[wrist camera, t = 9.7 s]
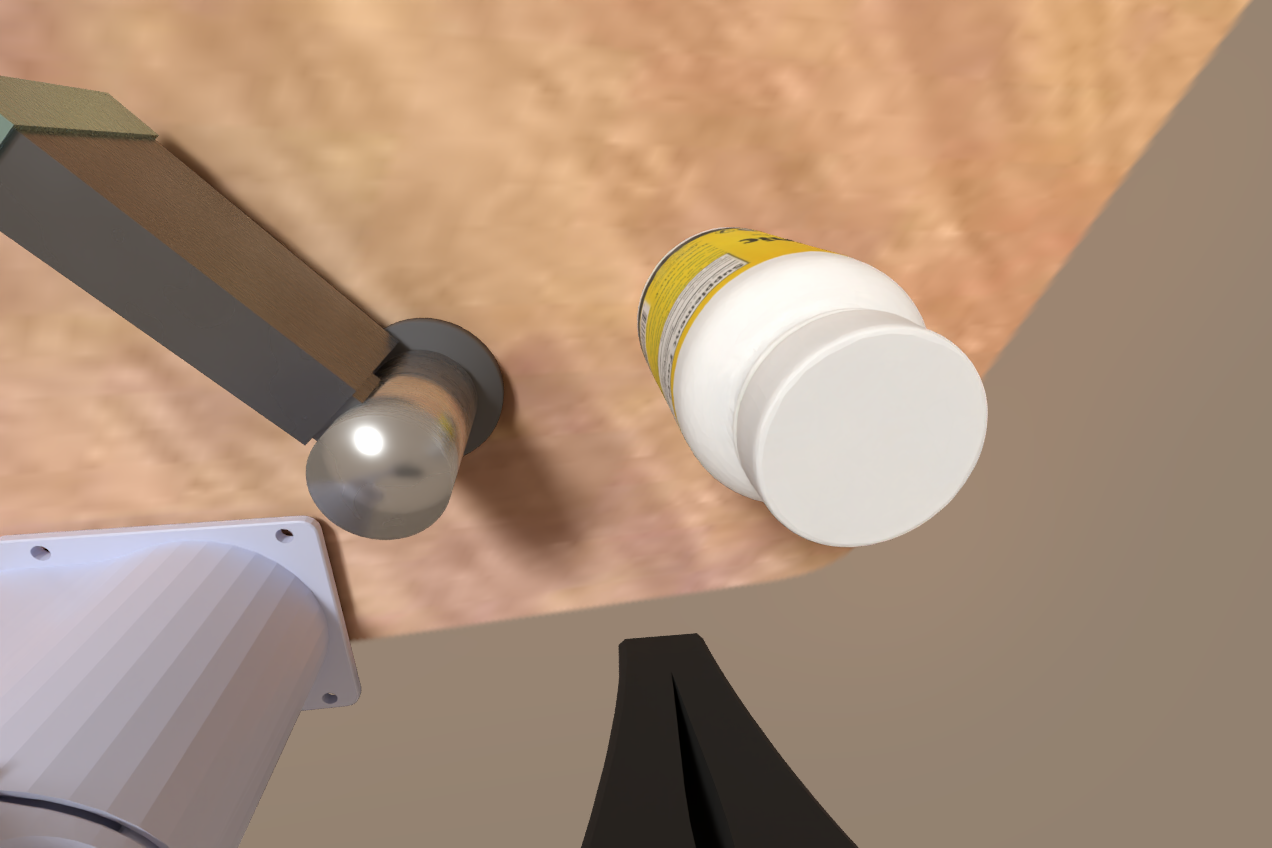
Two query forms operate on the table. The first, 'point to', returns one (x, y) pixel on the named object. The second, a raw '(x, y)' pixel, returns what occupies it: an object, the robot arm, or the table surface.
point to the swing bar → (233, 305)
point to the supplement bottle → (811, 384)
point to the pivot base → (467, 355)
